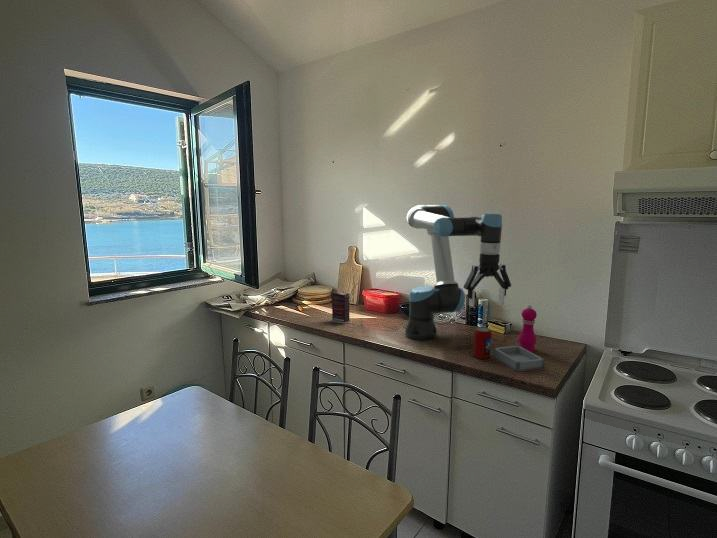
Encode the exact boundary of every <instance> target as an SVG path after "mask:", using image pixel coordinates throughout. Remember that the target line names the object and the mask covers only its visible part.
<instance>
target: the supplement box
mask: <svg viewBox="0 0 717 538" xmlns="http://www.w3.org/2000/svg"><path fill="white" fill-rule="evenodd" d="M331 311H332V312H331V313H332V314H331V316H332V319H331V320H332V321H331V322H333V323H338V324H345V325H346V324H347V323H350V322H351V321H350V293H348V292H343V291H342V292H341V291H334V292H331Z"/></svg>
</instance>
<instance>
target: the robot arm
mask: <svg viewBox="0 0 717 538" xmlns="http://www.w3.org/2000/svg"><path fill="white" fill-rule="evenodd" d="M406 221H407V223H408V225H409V226H410V227H412V228H413V229H420V230H422V229H424V230H426V231H427V232H426V233H427V234H428V235H429V236H430V239H431V246H432V248H431V249H432V255H433V263H434V270H435V280H436V283H435V285H433V286H430V285H424V286H417V287H414V288H413V289H411V290H410V291H409V298H408V300H409V303H408V304H409V305H408V306H409V307H408V308H409V311H408V312H409V313H408V315H409V317H408V322H407V324H406V327H405V331H404V333H405V334H404V335H405V337H406V338H409V339H410V340H411V339H412V340H415V341H416V340H419V341H429V340H435V339H436V338H437V336H438V330H437V327H436V324H435V321H434V320H435V319H434V318H435V317H434V315H435V314H445V313H446V314H447V313H448V314H449V313H451V314H452V313H456V312H460V311H461V310H462V309H463V308H464V306H465V302H466V301H465V300H466V294H465V291H464V289H465V290H467V298H468V306H470V307H471V308H474V307H475V296H476V291H475V288H476V287H477V286H478V285H479V283H480V282H481V281H482V280H483V279H484V278H487V277H488V278H489V277H491V278H493V277H494V279H495V281H496V282H497V283H498V284H499V286H500V287H499V289H498V290H499V291H498V301H497V304H499V305H501V306H503V305H504V304H505V297H506V296H507V290H508V289H509V288H511V287H512V283H511V281H510V278H509V274H508V273H507V269H506V267H507V266H506V265H505V264H502V263H500V257H501V256H500V255H501V254H499V253H501V241H502V229H503V228H502V227H503V216H502V214H501V213H483V214H482V215H481V217H478V216H470V217H469V216H468V217H455V215H454V212H453V210H452V208H451V207H450V206H448V205H445V204H443V205H442V204H419V205H416V206H413V207H411V209H409V211H408V212H407V215H406ZM464 236H465V237H469V236H470V237H472V236H475V237H476V236H477V237H480V244H479V252H480V253H479V261H478V263H479V264H478V265H473V264H472V266H471V271H470V273H469V275H468V277H467V278H466V281H465V283H464V285H463V288H461V287H460V286H459V283H458V282H457V281H456V280H455V275H454V268H453V267H454V266H453V260H452V258H453V257H452V252H451V244H450V237H464ZM498 271H499V272H500V274H499V272H498Z"/></svg>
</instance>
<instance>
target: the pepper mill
mask: <svg viewBox="0 0 717 538" xmlns="http://www.w3.org/2000/svg"><path fill="white" fill-rule="evenodd" d="M526 307H527V308H524V309H523V310H521V317H522V322H521V323H522V324H523V325H522V326H523V327H522V330H521V331H520V334H519V335H518V339H517V340H518V342H519V345H518V346H520V347H522V348H524V349H526V350H528V351H530V352H531V353H533V352H535V348H536V347H535V344H537V337H536V334H535V331H534V325H535V322H536V318H537V316H538V314H537V312H536V310H535V309H533V306H532V305H531V304H528V305H527V306H526Z"/></svg>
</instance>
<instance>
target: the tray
mask: <svg viewBox="0 0 717 538" xmlns="http://www.w3.org/2000/svg"><path fill="white" fill-rule="evenodd" d="M492 351H493V353H492V357H494V359H495V358H496V359H497V360H498V361H500V362H502V363H503V364H505V365H506V366H508V367H510V368H511V369H512V370H514V371H516V372H524V371H530V370H540V369H544V368H545V361H546V359H545V358H542V357H541V356H539V355H537V354H535V353H533V352H530V351H528V350H526V349H524V348H522V347H520V346H519V345H512V346H502V347H493V349H492Z"/></svg>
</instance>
